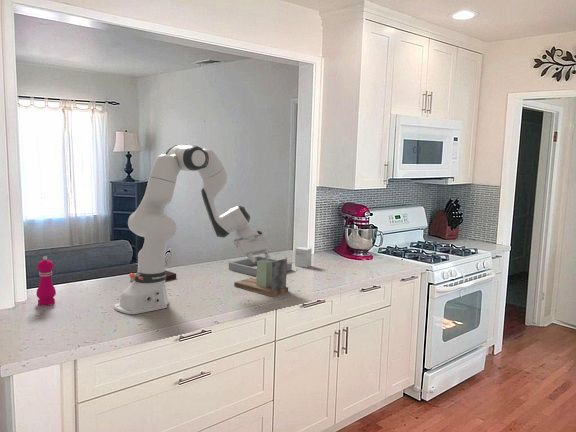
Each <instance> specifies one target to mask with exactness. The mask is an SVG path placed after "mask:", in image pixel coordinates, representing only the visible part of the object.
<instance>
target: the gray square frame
mask: <svg viewBox="0 0 576 432" xmlns="http://www.w3.org/2000/svg"><path fill="white" fill-rule="evenodd" d="M253 257H254V258H256V259H257V261H258V260H262V259H264V260H266V259H265V256H261V255H256V256H253ZM277 260H278V259H275V258H271V257H270V258H269V259H268V261H277ZM257 261H256V262H254V263H253V262H252V260H250V259H249V258H248V257H246V258H243V259H242V258H241V259H238V260H234V261H229V262H228V270H230V271H233V272H237V273H241V274H246V275H247V276H248V275H249V276H253V277H256V276H257V267H252V265H257ZM292 265H293V263H292V262H289V261H287V272H290V271H292V269H293V268H292V267H293V266H292ZM289 270H290V271H289Z"/></svg>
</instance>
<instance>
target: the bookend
mask: <svg viewBox="0 0 576 432" xmlns="http://www.w3.org/2000/svg"><path fill="white" fill-rule="evenodd" d="M276 260H277V261H273V262H272V286H270V287H267V288H265V287H261V286H257V285H256V278H254V277H249V278H245V279H240V280H238V281H234V284H233V287H235V288H238V289H239V288H240V289H242V288H243V290H247V291H251V292H254V293H257V294H262V295H264V296H269V297H275V296H278V295H281V294H285V293H287V292H289V287H288V286H287V272H288V271H287V262H288V258H282V259H276Z"/></svg>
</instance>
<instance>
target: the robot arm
mask: <svg viewBox="0 0 576 432" xmlns="http://www.w3.org/2000/svg"><path fill="white" fill-rule="evenodd" d="M222 163H223V162H222V161H221V159H219V156H217V153H215V152H214V151H213V149H211V148H209V147H208V148H206V147H205V148H202V147H200V146H199V145H191V144H176V145H173V146H171V147H170V148H168V149H167V150H166V152H165V153H163V154H159V155H158V156H156V157H155V161H154V162H153V164H152V168H151V170H150V174H149V177H148V181H147V185H146V188H145V193H144V194H143V195H144V196H143V197H142V200H141V201H140V204H139V205H138V206H137V208H136V210H135V211H134V212H132V213H131V214H130V215H129V217H128V220H127V226H128V228H129V230H130V231H131V232H132V233H133V234H135V235H137V236H138V237H142V238H144V242H143V245H142V248H141V249H140V250H139V251H138V253H137V271H136V273H134V272H133V273H132V272H130V273H129V275H128V277H129V278H130V279H131V278H134V281H133V282H131V283H130V284H129V285H128V286H127V287H126V288H125V289H124V290H123V291H122V292H121V293H120V297H119V302H118V303H115V304H114V306H113V308H114V309H115V310H116V311H117V312H120V313H123V314H127V315H138V314H143V313H147V312H152V311H157V310H163V309H166V308H168V305H169V302H170V301H169V299H168V293H167V287H166V281H165V280H166V271H167V270H166V251H167V247H168V244H169V242H170V241H171V239H172V238H174V236H175V235H176V232H177V226H176V222H175V221H174V219H172V218H171V217H170V216H167V215H166V214H162V213H163V211H164V210H165V208H166V207H167V206H168V205H169V204H171V202H172V200H173V196H174V193H175V187H176V183H177V179H178V175H179V173H180V172H181V171H185V172H186V171H187V172H188V171H189V172H190V171H193V172H195V171H196V172H198V173H199V176H200V177H201V179H202V183H203V186H202V189H201V191H200V192H201V193H200V194H201V197H202V200H203V203H204V207H205V210H206V213H207V216H208V218H209V222H210V226H211V230H212V233H213V234H214V235H215V236H216V237H217V238H222V239H224V238H226V237H228V236H229V235H230V234H232V233H233V232H234V234H235V236H236V238H235V239H234V240H233V244H234V245H235V249H236V251H237V253H238V255H239V257H241V258H243V257H244V258H245V257H246V258H249V259H250V260H252V262H253V263H254V262H256V261H257V259H256V258H254V257H255V256H253V255H257V254H263V255H264V257H265V259H266V260H268V259H269V258H271V257H270V255H269V251H271V249H272V245H271V243H270V241H269V240H268V239H267V237H266V236H264V232H263V231H261V230H258V229H254V228H253V227H252V226H251V225H250V224H249V223H250V221H251V216H250V214H249V213H248V211H247V210H246V208H245V206H241V205H236V206H234V207H231V208H229V209H228V210H227V211H225V212H224V213H222V214H221V215H218V213H217V209H216V206H215V199H216V197H217V196H218V195H219V193H220V192H222V190H223V189H224V188H225V185H227V181H228V174H227V172H226V169H225V167H224V165H223V164H222Z"/></svg>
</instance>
